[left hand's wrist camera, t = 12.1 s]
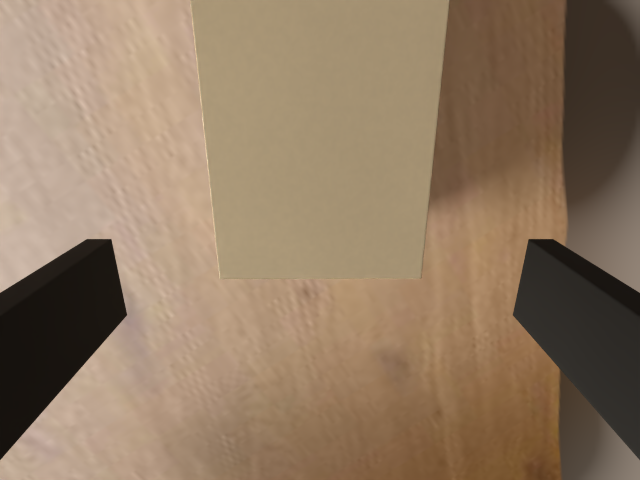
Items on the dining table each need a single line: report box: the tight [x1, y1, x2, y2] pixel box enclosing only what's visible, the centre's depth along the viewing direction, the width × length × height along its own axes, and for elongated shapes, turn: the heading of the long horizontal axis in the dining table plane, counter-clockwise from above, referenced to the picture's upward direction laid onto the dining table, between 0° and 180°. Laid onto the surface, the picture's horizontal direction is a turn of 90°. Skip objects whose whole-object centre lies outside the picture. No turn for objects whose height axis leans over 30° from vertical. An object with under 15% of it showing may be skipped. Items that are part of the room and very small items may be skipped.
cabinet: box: [190, 0, 450, 279], centre depth 21 cm, size 21×10×10 cm, turn 0°
